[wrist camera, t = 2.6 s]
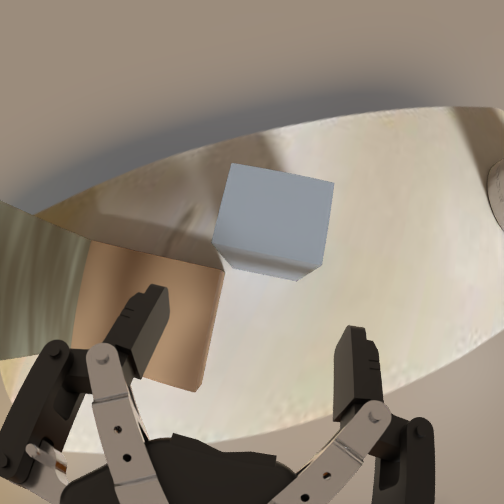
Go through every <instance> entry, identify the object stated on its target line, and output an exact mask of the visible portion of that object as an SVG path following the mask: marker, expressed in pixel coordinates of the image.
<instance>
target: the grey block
mask: <svg viewBox="0 0 504 504" xmlns="http://www.w3.org/2000/svg"><path fill="white" fill-rule="evenodd" d="M333 189H334V183H332V182H328V181H324V180H319V179H315V178H310V177H305V176H300V175H296V174H291V173H286V172H280V171H275V170H270V169H264V168H259V167H253V166H247V165H241V164H235V163H231V167H230V170H229V174H228V178H227V182H226V186H225V190H224V194H223V198H222V202H221V206H220V210H219V214H218V218H217V222H216V226H215V230H214V234H213V238H212V242H211V243H212V244H213V245H214V247H215V248H216V249H217V250H218V251H219V252H220V254H221V255H222V256H223V257H224V258H225V260H226V261H227V262H228V263H229V264H230V265H231V267H232V268H234V269H239V270H244V271H249V272H254V273H258V274H263V275H268V276H273V277H278V278H283V279H288V280H293V281H298V280H299V279H301V278H303V277H304V276H306V275H307V274H309V273H311V272H312V271H314V270H315V269H317V268H318V267H320V266H321V265H322V261H323V255H324V250H325V243H326V237H327V231H328V224H329V218H330V211H331V204H332V197H333Z"/></svg>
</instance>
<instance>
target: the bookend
mask: <svg viewBox="0 0 504 504" xmlns="http://www.w3.org/2000/svg"><path fill="white" fill-rule="evenodd" d="M224 275H225V273H224V272H223V271H222V270H220V269H216V268H211V267H206V266H202V265H197V264H193V263H188V262H184V261H179V260H175V259H170V258H166V257H161V256H157V255H153V254H148V253H144V252H140V251H135V250H131V249H127V248H122V247H118V246H114V245H110V244H106V243H101V242H97V241H93V240H90V239H88V238H85V237H83V236H80V235H78V234H75V233H73V232H71V231H68V230H66V229H63V228H61V227H59V226H56V225H54V224H52V223H49V222H47V221H45V220H42V219H40V218H38V217H36V216H33V215H31V214H29V213H26V212H24V211H22V210H20V209H18V208H15V207H13V206H11V205H9V204H7V203H4V202H2V201H0V360H6V359H13V358H19V357H25V356H31V355H37V354H40V352H41V351H42V349H43V347H44V346H45V345H46V344H47V343H48V342H50V341H52V340H57V339H58V340H63V341H64V342H66V343H67V344H68V346H69V348H73V349H90V348H91V347H92V346H94V345H96V344H98V343H102V342H103V341H104V339H105V338H106V336H107V334H108V333H109V331H110V329H111V328H112V326H113V324H114V323H115V321H116V319H117V318H118V316H120V313H121V311H122V310H123V309H124V307H125V305H126V303H127V302H128V300H129V299H130V298H131V297H132V296H134V295H135V294H136V293H138V292H140V293H145V292H146V290H147V288H148V287H149V285H150V284H156V285H160V286H164V287H167V288H168V293H169V304H170V316H169V320H168V323H167V325H166V327H165V329H164V331H163V334H162V336H161V338H160V340H159V342H158V344H157V346H156V348H155V351H154V353H153V355H152V357H151V359H150V361H149V364H148V366H147V368H146V370H145V372H144V375H143V377H145V378H148V379H151V380H154V381H157V382H160V383H164V384H167V385H170V386H173V387H177V388H180V389H184V390H187V391H191V392H196V391H197V389H198V388H199V387H200V385H201V384H202V380H203V375H204V370H205V365H206V360H207V355H208V350H209V346H210V341H211V336H212V331H213V326H214V322H215V317H216V312H217V308H218V303H219V298H220V294H221V289H222V285H223V280H224Z"/></svg>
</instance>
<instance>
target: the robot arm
mask: <svg viewBox="0 0 504 504" xmlns="http://www.w3.org/2000/svg"><path fill="white" fill-rule="evenodd" d="M487 186H488V196H489V200H490V204H491V207H492V210H493V213H494V215H495V217H496V219H497V221H498V223H499V225H500V226H501V228H502V229H503V231H504V159H502V160H501V161H499V162H498V163H496V164H495V165H494V166H493V167H492V168H491V169H490V172H489V174H488V181H487ZM169 316H170V304H169V293H168V288H167V287H164V286H160V285H156V284H150V285H149V287H148V288H147V290H146V292H145V293H140V292H138V293H136V294H135V295H134V296H132V297H131V298H130V299H129V300H128V302H127V303H126V305H125V307H124V309H123V310H122V311H121V313H120V316H118V318H117V319H116V321H115V323H114V324H113V326H112V328H111V329H110V331H109V333H108V334H107V336H106V338H105V339H104V341H103V342H102V343H98V344H96V345H94V346H92V347H91V348H90V349H73V348H69V346H68V344H67V343H66V342H64V341H63V340H58V339H57V340H52V341H50V342H48V343H47V344H46V345H45V346H44V347H43V349H42V351H41V352H40V354H39V356H38V358H37V359H36V361H35V363H34V365H33V366H32V368H31V370H30V372H29V374H28V376H27V377H26V379H25V381H24V383H23V385H22V387H21V389H20V391H19V393H18V395H17V397H16V399H15V401H14V403H13V405H12V407H11V409H10V411H9V413H8V415H7V417H6V420H5V422H4V424H3V426H2V429H1V431H0V476H1V477H3V478H5V479H7V480H9V481H10V482H12V483H14V484H16V485H18V486H20V487H23V488H25V489H28V490H30V491H31V492H33V493H35V494H36V495H38V496H40V497H41V498H43V499H45V500H46V501H48V502H50V503H52V504H328V503H329V502H330V501H331V500H332V499H333V498H334V496H335V495H336V494H337V493H338V492H339V491H340V490H341V489H342V488H343V487H344V486H345V484H346V483H347V482H348V481H349V480H350V479H351V478H352V476H353V475H354V474H355V473H356V472H357V471H358V469H359V468H360V467H361V465H362V464H363V459H364V458H365V456H366V455H367V454H369V455H372V456H375V457H376V460H375V474H374V486H373V496H372V504H434V502H435V448H434V431H433V427H432V425H431V423H430V422H429V421H428V420H426V419H425V418H422V417H417V418H414V419H412V420H411V421H408V420H405V419H402V418H400V417H397V416H395V415H393V414H392V413H391V412H390V410H389V408H388V407H387V405H385V404H384V401H383V391H382V380H381V371H380V363H379V353H378V349H377V348H376V346H375V344H374V342H373V341H370V340H367V339H366V331H365V328H363V327H356V326H350V325H348V326H347V327H346V329H345V331H344V333H343V335H342V337H341V339H340V340H339V342H338V344H337V346H336V349H335V353H334V399H333V421H334V422H340V430H338V431H337V433H336V434H335V435H334V436H333V437H332V438H331V439H330V440H329V441H328V442H327V443H326V444H325V445H324V446H323V447H322V448H321V449H320V450H319V452H317V454H316V455H315V456H313V457H312V458H311V459H310V460H309V461H308V462H307V463H306V464H305V465H304V466H303V467H302V468H300V469H299V470H298V471H297V472H296V473H294V472H293V471H292V470H291V469H290V468H288V467H287V466H285V465H284V464H282V463H280V462H278V461H276V456H275V455H268V454H262V453H256V452H221V451H219V450H217V449H215V448H212V447H211V446H209V445H207V444H205V443H203V442H201V441H199V440H196V439H193V438H189V437H185V436H182V435H179V434H175V433H173V435H172V437H171V438H158V439H153V440H150V439H149V436H148V434H147V431H146V429H145V426H144V424H143V422H142V419H141V416H140V413H139V410H138V407H137V404H136V401H135V398H134V395H133V392H132V388H131V385H130V384H131V382H132V380H133V378H134V377H135V378H137V379H140V380H141V379H142V377H143V375H144V372H145V370H146V368H147V366H148V364H149V361H150V359H151V357H152V355H153V353H154V351H155V348H156V346H157V344H158V342H159V340H160V338H161V336H162V334H163V331H164V329H165V327H166V325H167V323H168V320H169ZM85 394H93V399H94V402H92V408H93V413H94V417H95V421H96V425H97V429H98V433H99V436H100V440H101V443H102V447H103V450H104V454H105V456H106V460H107V464H105V465H104V466H102V467H100V468H98V469H96V470H94V471H92V472H90V473H88V474H86V475H84V476H82V477H80V478H78V479H76V480H74V481H72V482H70V483H69V482H68V480H67V477H66V469H67V462H66V459H65V457H64V455H63V454H62V450H63V448H64V445H65V442H66V440H67V437H68V435H69V432H70V430H71V427H72V425H73V422H74V420H75V417H76V415H77V412H78V410H79V408H80V405H81V403H82V401H83V398H84V396H85Z"/></svg>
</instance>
